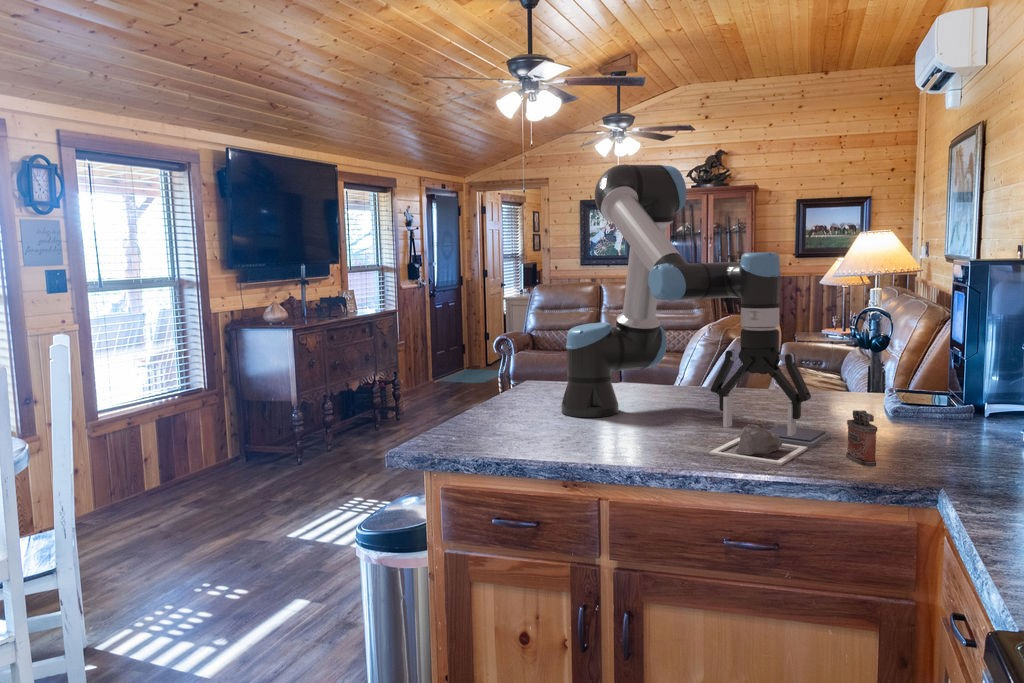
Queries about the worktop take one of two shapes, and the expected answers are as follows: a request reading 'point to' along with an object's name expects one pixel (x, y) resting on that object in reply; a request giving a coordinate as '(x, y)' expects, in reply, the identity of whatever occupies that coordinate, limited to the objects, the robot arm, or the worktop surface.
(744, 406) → the worktop surface
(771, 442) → the stone
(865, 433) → the lighter
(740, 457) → the white flat square frame
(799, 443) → the ink pad
